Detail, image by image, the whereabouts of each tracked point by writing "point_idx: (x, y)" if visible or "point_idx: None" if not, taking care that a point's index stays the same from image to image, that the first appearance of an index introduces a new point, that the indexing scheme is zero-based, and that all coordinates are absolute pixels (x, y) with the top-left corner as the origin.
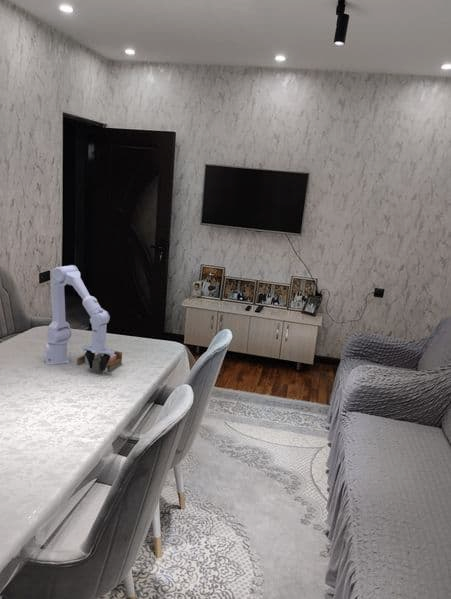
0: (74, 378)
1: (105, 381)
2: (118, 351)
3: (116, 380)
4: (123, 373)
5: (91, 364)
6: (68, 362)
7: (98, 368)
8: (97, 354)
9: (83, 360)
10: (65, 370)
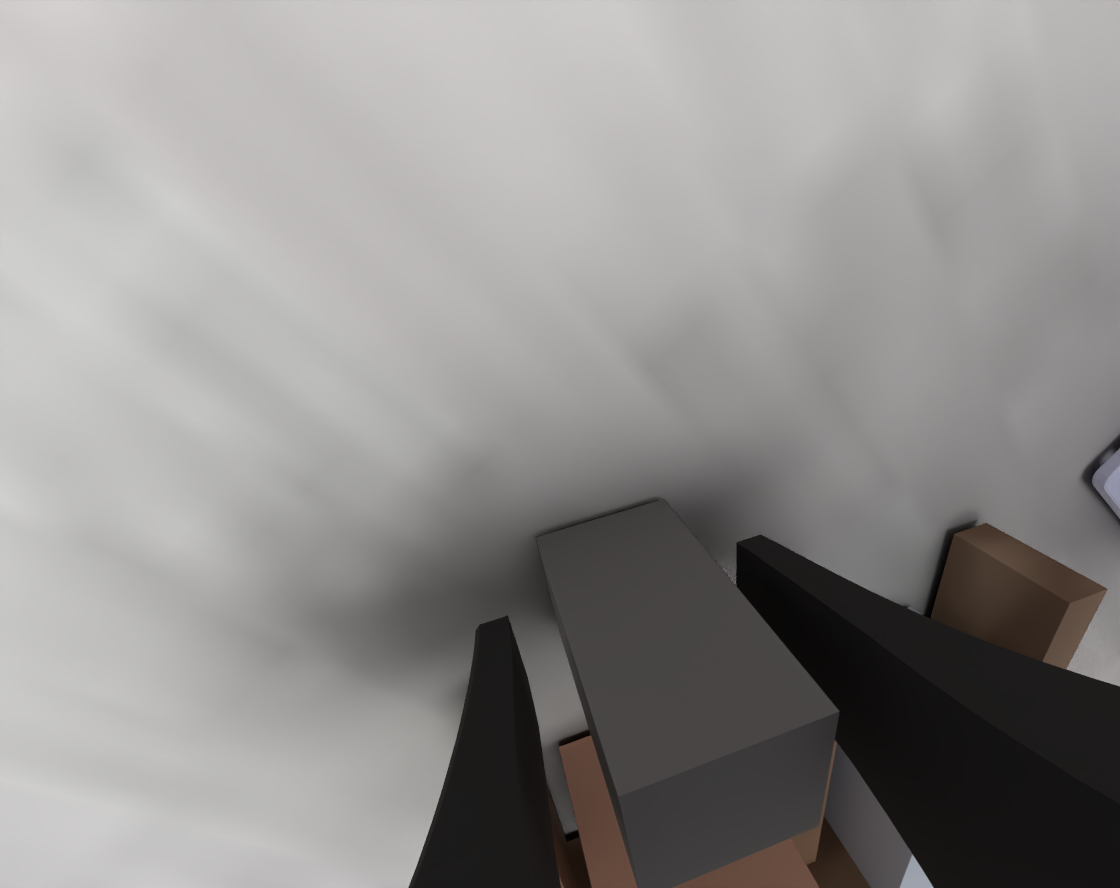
0: (775, 6)
1: (99, 404)
2: None
3: (16, 603)
4: (283, 802)
5: (788, 608)
6: (1106, 475)
7: (571, 613)
8: (894, 854)
9: (966, 629)
10: (1069, 250)
